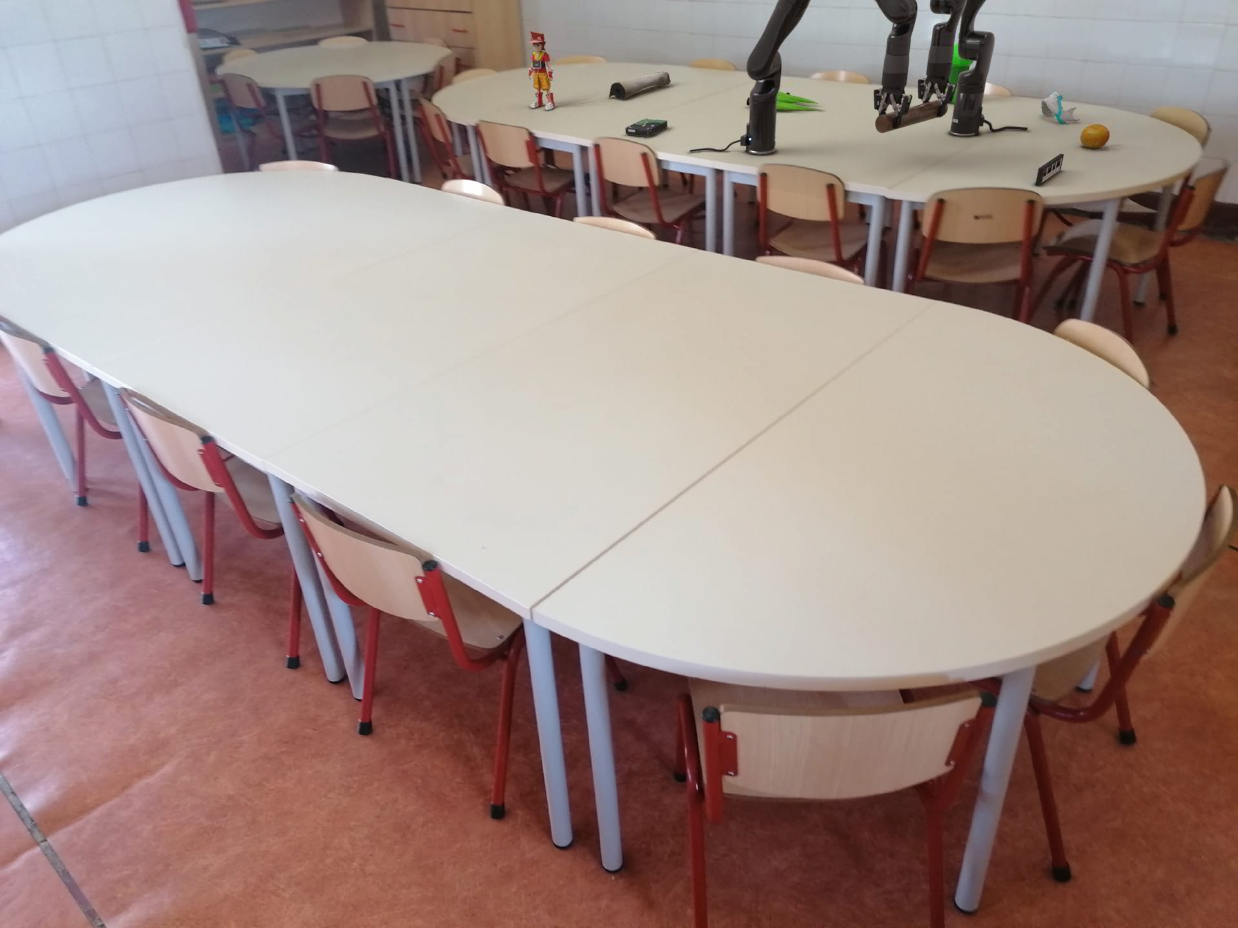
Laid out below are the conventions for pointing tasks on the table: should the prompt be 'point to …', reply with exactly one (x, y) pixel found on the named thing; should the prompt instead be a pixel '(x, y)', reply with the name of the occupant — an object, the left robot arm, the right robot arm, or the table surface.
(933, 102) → the rod
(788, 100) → the toy
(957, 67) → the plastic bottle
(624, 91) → the rolled mat
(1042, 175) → the midi keyboard
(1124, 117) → the table surface
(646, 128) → the disk drive
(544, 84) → the toy
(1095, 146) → the fruit
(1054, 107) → the anatomical model
